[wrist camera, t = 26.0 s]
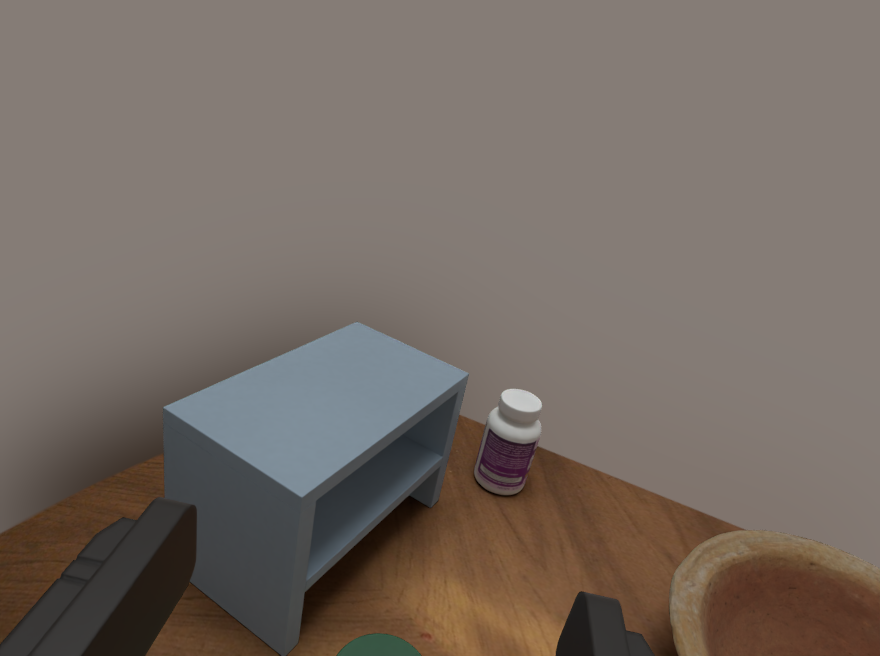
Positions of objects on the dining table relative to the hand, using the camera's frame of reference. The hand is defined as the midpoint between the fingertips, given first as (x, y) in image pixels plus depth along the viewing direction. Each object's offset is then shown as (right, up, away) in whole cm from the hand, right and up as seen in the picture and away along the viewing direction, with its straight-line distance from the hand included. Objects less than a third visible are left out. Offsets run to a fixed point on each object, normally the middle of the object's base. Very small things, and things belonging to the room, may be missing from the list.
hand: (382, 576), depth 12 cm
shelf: (-9, -12, +37) cm, 40 cm away
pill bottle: (+7, -10, +48) cm, 49 cm away
